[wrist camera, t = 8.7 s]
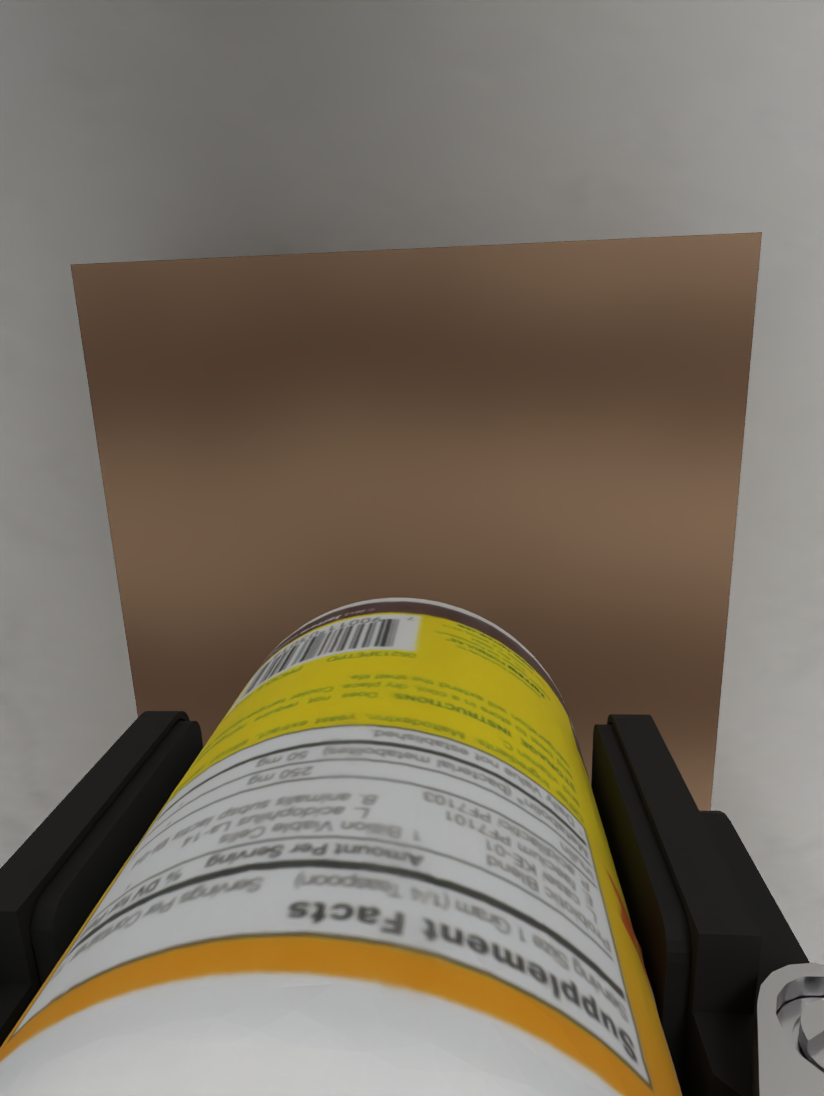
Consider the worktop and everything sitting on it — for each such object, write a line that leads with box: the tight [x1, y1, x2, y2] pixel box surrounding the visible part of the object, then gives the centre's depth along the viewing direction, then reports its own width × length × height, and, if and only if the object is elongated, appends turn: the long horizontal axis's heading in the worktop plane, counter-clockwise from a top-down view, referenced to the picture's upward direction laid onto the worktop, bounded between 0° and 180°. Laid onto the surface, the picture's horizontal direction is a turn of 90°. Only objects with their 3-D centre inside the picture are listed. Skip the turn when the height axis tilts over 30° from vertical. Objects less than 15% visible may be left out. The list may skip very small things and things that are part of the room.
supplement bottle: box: [0, 598, 683, 1096], centre depth 7 cm, size 6×6×10 cm
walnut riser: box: [71, 232, 762, 811], centre depth 16 cm, size 16×12×3 cm
